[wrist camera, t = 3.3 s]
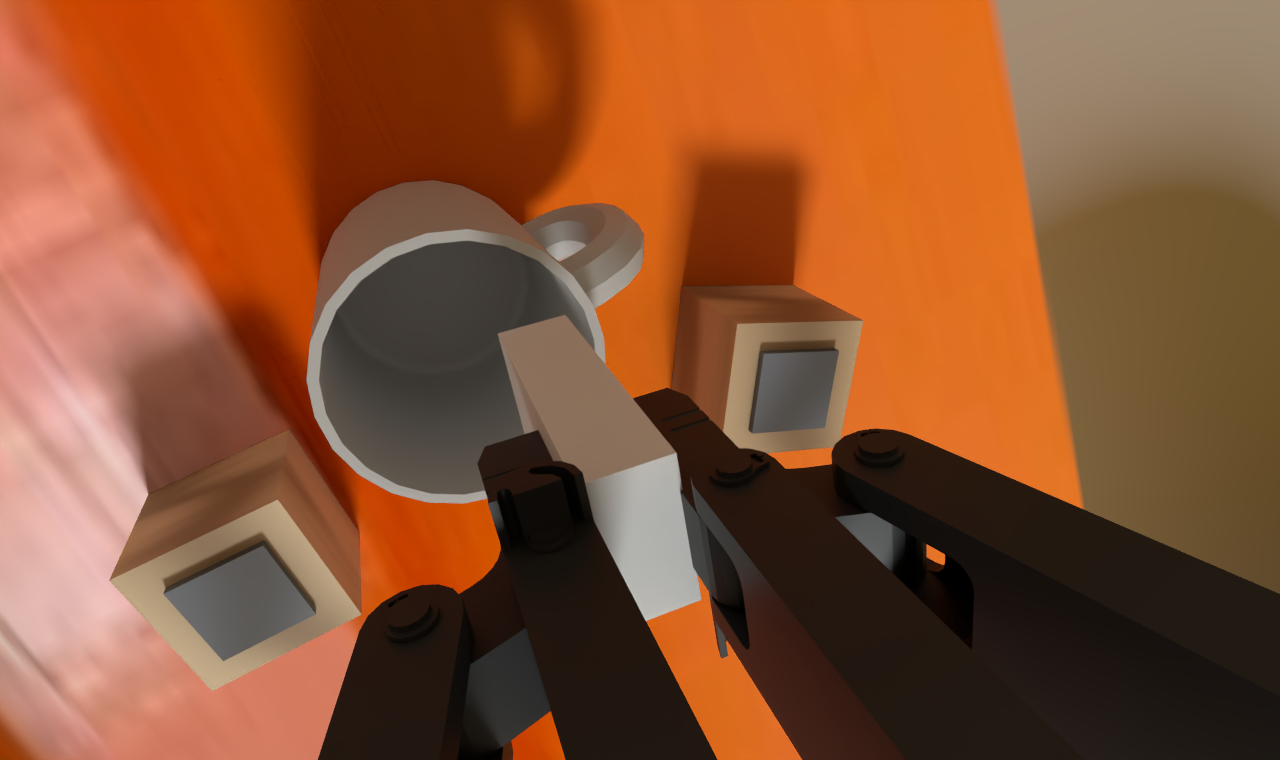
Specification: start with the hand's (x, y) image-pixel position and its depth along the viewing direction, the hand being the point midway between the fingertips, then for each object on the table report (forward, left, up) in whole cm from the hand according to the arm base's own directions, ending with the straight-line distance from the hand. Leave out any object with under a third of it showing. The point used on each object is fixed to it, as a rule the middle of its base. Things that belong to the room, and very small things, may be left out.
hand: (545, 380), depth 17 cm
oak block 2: (+9, -6, -12) cm, 16 cm away
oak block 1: (-10, -7, -12) cm, 17 cm away
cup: (0, 0, -12) cm, 12 cm away
